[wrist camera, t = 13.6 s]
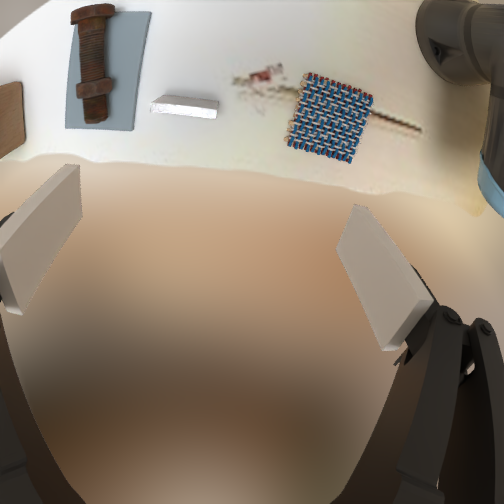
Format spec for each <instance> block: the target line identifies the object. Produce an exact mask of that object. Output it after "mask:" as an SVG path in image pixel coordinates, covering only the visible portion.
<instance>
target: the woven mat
mask: <svg viewBox="0 0 504 504" xmlns="http://www.w3.org/2000/svg"><path fill="white" fill-rule="evenodd" d="M317 76H318V75H317V74H315V75H314V76H312V73H309V75H308V74H303V77H305V78H304V79H307V80H303V81H302V82H301V83H300V85H301V86H303V87H304V90H300V89H299V90H298V93H300V95H301V96H300V97H298V98H296V101H297V102H299V103H300V104H299V105H296V108H295V111H297V112H295V113H294V115H293V117H295V119H294V121H289V125H291V126H292V128H291V129H290V128H287V131H289V132H291V133H290V137H286V138H284V141H289V142H288V145H287V146H290V147H291V145H292V143H294V144H293V147H294V149H297V148H298V144H300V145H299V149H303V147H304V146H305V148H304V150H306V152H309V148H310V147H311V148H310V152H314V150H315V153H317V155H320V152H321V155H325V153H326V156H327V157H328V158H330V157H332V158H335V156H336V155H337V156H336V159H338V161H341V160H342V161H345V159H346V162H348V163H349V164H351V162H352V159H353V157H355V155H354V154H355V153H356V154H357V152H355V149H358V148H356V146H357V147H358V145H357V144H358V143H360V144H361V142H360V141H359V138H360V139H362V137H360V135H361V134H362V135H364V133H362V132H363V131H364V130H363V128H364V129H365V128H366V127H364V125H365V124H366V125H368V123H366V122H367V121H366V120H369V119H368V118H366V117H368V114H370V115H371V113H370V112H369V110H370V109H371V110H372V108H371V105H372V106H374V104H372V103H374V102H373V98H372V95H370V94H369V96H367V93H365V92H364V94H363V93H361V91H362V90H361V89H359V90H358V91H357V89H355V88H354V90H352V89H351V86H350V85H349V87H348V88H347V87H346V85H345V84H343V86H341V83H339V82H338V83H337V84H336V83H335V81H334V80H332V82H330V81H328V80H329V78H327V77H326V79H325V80H324V77H322V76H321V77H320V78H318V77H317ZM311 81H313V82H311ZM318 83H319V84H318ZM323 85H324V86H323ZM322 87H323V88H322ZM329 87H330V88H329ZM309 88H310V92H309V91H308V90H309ZM328 89H329V90H328ZM315 90H316V92H315ZM334 91H335V92H334ZM321 92H322V95H320V93H321ZM326 94H328V96H327V97H326ZM345 94H346V95H345ZM332 96H333V99H331V98H332ZM312 99H313V100H312ZM343 100H344V102H343ZM318 101H319V102H318ZM324 102H325V103H324ZM304 104H305V106H304ZM353 105H354V106H353ZM359 105H360V107H359ZM335 106H336V107H335ZM310 107H311V109H310ZM316 108H317V111H316ZM364 108H365V109H364ZM322 110H323V111H322ZM321 111H322V112H321ZM302 113H303V114H302ZM333 113H334V114H333ZM308 114H309V115H308ZM332 115H333V116H332ZM313 116H315V117H313ZM343 118H344V119H343ZM300 120H301V122H299V121H300ZM305 121H306V122H307V123H306V124H305ZM353 122H354V123H353ZM311 123H312V126H310V125H311ZM316 126H317V127H316ZM346 126H347V127H346ZM303 128H304V129H303ZM322 128H323V129H322ZM297 129H298V130H297ZM302 130H303V131H304V132H302ZM333 131H334V132H333ZM314 134H315V135H314ZM294 136H296V139H295V138H294ZM331 136H332V137H331ZM354 137H355V138H354ZM300 138H301V140H300ZM336 138H337V139H336ZM306 139H307V140H306ZM312 141H313V142H312ZM311 142H312V143H311ZM317 142H318V143H317ZM322 145H323V146H322ZM328 145H329V147H328ZM333 148H334V149H333ZM349 149H350V150H349ZM343 151H344V152H343ZM331 153H332V154H331ZM348 160H349V161H348Z"/></svg>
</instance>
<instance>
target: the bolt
mask: <svg viewBox="0 0 504 504" xmlns="http://www.w3.org/2000/svg"><path fill="white" fill-rule="evenodd" d="M114 12H115V6H114V5H112V4H106V3H105V4H95V5H90V6H85V7H81V8H79V9H76V10H74V11H72V12H71V25H75V24H78V35H79V39H80V40H79V42H80V43H79V44H80V45H79V47H80V48H79V49H80V50H79V52H80V53H79V55H80V56H79V57H80V58H79V60H80V61H79V62H81V63H80V66H79V67H80V70H81V71H80V72H81V74H80V75H81V76H80V77H81V79H80V80H81V83H78V84H76V96H77V99H82V101H83V102H82V103H83V105H82V106H84V107H83V109H84V110H83V111H84V113H83V114H84V115H83V116H85V117H84V119H85V120H84V121H85V123H86V124H98V123H100V122H101V121H106V119H107V118H108V117H109V116H107V115H108V113H107V112H108V111H107V110H108V109H107V106H106V105H107V103H106V102H107V101H106V100H107V98H106V97H107V96H106V93H109V92H111V90H112V80H111V78H110V77H105V75H104V74H105V73H104V72H105V70H104V69H105V67H104V66H105V65H103V64H104V63H105V62H104V61H105V60H104V58H105V57H104V56H105V55H104V53H105V52H103V51H105V50H104V48H105V47H103V46H104V43H105V42H103V41H104V38H105V37H103V36H104V35H105V34H104V33H105V27H106V19H109V18H111V17H112V16H113V15H114Z"/></svg>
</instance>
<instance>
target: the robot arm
mask: <svg viewBox="0 0 504 504" xmlns="http://www.w3.org/2000/svg"><path fill="white" fill-rule="evenodd" d="M416 32H417V38H418V42H419V46H420V48H421V51H422V53H423V55H424V57H425V59H426V61H427V62H428V64H429V65H430V67H431V68H432V69H433V70H434V71H435V72H436V73H437V74H438V75H439V76H440V77H441V78H443V79H445V80H446V81H448V82H451V83H454V84H458V85H461V86H475V85H482V84H489V83H491V90H490V99H489V109H488V117H487V124H486V130H485V136H484V141H483V146H482V149H481V151H480V165H479V171H478V178H477V180H478V185H479V188H480V190H481V193H482V195H483V197H484V198H485V199H486V201H487V202H488V203H489V205H490V206H491V207H492V208H493V209H494V210H495V211H496V212H497V213H498V214H499V215H501V216H502V217H503V218H504V5H502V4H479V3H477V2H474V1H472V0H425V1H424V2H423V3H422V5H421V7H420V9H419V11H418V14H417V20H416ZM81 218H82V205H81V188H80V165H72V164H65V165H64V166H63V167H62V168H61V169H59V170H58V171H57V172H56V173H55V174H54V175H53V176H52V177H51V178H49V179H48V180H47V181H46V182H45V183H44V184H43V185H42V186H41V187H40V188H39V189H37V190H36V192H34V193H33V194H32V195H31V196H30V197H29V198H28V199H27V200H26V201H25V202H24V203H23V204H22V205H21V206H20V207H19V208H18V209H17V210H16V211H15V212H13V213H11V214H9V215H8V216H6V217H4V218H3V219H2V220H1V221H0V302H1V300H2V301H3V303H4V306H5V308H6V310H7V311H8V312H11V313H15V314H18V315H23V314H24V312H25V310H26V308H27V306H28V304H29V303H30V301H31V299H32V297H33V295H34V293H35V291H36V290H37V287H38V286H39V284H40V282H41V281H42V279H43V277H44V276H45V274H46V272H47V270H48V269H49V267H50V265H51V264H52V262H53V261H54V259H55V257H56V255H57V254H58V252H59V251H60V249H61V248H62V246H63V245H64V243H65V242H66V240H67V238H68V237H69V236H70V234H71V233H72V231H73V229H74V228H75V227H76V225H77V224H78V222H79V221H80V220H81ZM336 251H337V253H338V255H339V258H340V260H341V262H342V263H343V266H344V268H345V270H346V272H347V274H348V276H349V278H350V280H351V282H352V285H353V287H354V289H355V291H356V293H357V295H358V297H359V299H360V302H361V304H362V306H363V309H364V311H365V313H366V315H367V317H368V320H369V322H370V324H371V327H372V329H373V331H374V333H375V336H376V338H377V340H378V343H379V345H380V348H381V350H382V351H390V350H397V349H398V348H399V347H400V345H401V344H402V343H403V342H404V340H405V341H406V343H407V345H408V347H407V349H406V350H405V351H404V352H403V353H402V354H401V356H400V357H399V358H398V359H397V360H396V361H395V363H394V365H395V366H396V365H397V364H398V363H399V362H400V364H399V367H398V370H397V373H396V376H395V379H394V381H393V384H392V387H391V389H390V392H389V395H388V397H387V400H386V402H385V405H384V407H383V410H382V412H381V415H380V417H379V419H378V422H377V424H376V426H375V428H374V431H373V433H372V435H371V437H370V440H369V442H368V444H367V446H366V448H365V450H364V452H363V454H362V456H361V458H360V460H359V462H358V464H357V466H356V468H355V469H354V471H353V473H352V475H351V477H350V479H349V481H348V483H347V484H346V486H345V488H344V489H343V491H342V492H341V494H340V495H339V496H338V497H337V498H336V499H335V500H333V501H332V502H331V503H330V504H504V363H503V359H502V355H501V351H500V348H499V345H498V341H497V337H496V334H495V331H494V329H493V328H492V326H491V324H490V323H488V321H485V320H484V319H482V318H476V319H475V321H474V322H473V323H472V324H471V325H470V326H469V325H466V324H463V323H462V320H461V318H460V316H459V315H458V314H457V313H456V312H455V311H454V310H453V309H451V308H449V307H447V306H443V305H442V306H440V305H439V303H438V302H437V300H436V298H435V297H434V295H433V294H432V293H431V291H430V289H429V288H428V286H426V283H425V282H424V281H423V279H421V276H420V274H419V273H418V272H417V270H416V269H415V268H414V267H413V266H412V265H411V264H410V263H409V262H408V261H407V259H406V258H405V256H404V255H403V254H402V252H401V251H400V250H399V248H398V247H397V245H396V244H395V243H394V241H393V240H392V239H391V237H390V236H389V235H388V233H387V232H386V231H385V229H384V228H383V227H382V225H381V224H380V223H379V221H378V220H377V219H376V218H375V217H374V215H373V214H372V213H371V211H370V210H369V209H368V208H367V207H365V206H360V205H356V204H354V206H353V209H352V211H351V214H350V216H349V218H348V221H347V223H346V226H345V228H344V231H343V233H342V236H341V238H340V240H339V243H338V245H337V247H336ZM473 363H474V364H475V368H474V370H473V371H472V372H471V373H470V374H469V375H468V374H467V369H468V368H469V367H470V366H471V365H472V364H473ZM438 478H439V482H438V489H437V486H436V485H437V481H438ZM0 504H86V503H85V502H84V501H83V499H82V498H81V497H80V496H79V494H78V493H77V492H76V491H75V490H74V489H73V488H72V487H71V486H70V484H69V483H68V481H67V480H66V478H65V477H64V475H63V473H62V472H61V470H60V468H59V466H58V465H57V463H56V461H55V459H54V457H53V456H52V454H51V452H50V450H49V448H48V446H47V444H46V442H45V440H44V438H43V436H42V434H41V432H40V430H39V428H38V425H37V423H36V421H35V419H34V416H33V414H32V412H31V410H30V407H29V405H28V402H27V400H26V397H25V394H24V392H23V389H22V386H21V384H20V381H19V378H18V375H17V373H16V369H15V366H14V363H13V360H12V357H11V353H10V350H9V346H8V342H7V339H6V335H5V331H4V327H3V323H2V318H1V314H0Z"/></svg>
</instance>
